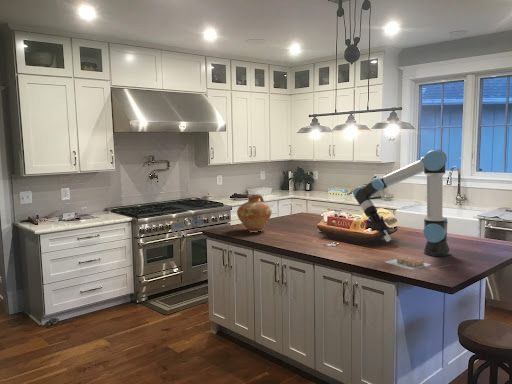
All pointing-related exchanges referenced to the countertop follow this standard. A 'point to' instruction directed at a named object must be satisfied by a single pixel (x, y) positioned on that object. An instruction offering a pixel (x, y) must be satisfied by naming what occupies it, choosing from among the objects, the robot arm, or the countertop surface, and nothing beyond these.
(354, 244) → the countertop surface
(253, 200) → the jug
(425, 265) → the mat
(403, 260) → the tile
